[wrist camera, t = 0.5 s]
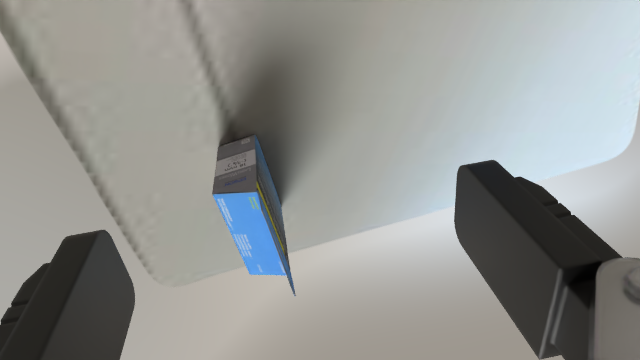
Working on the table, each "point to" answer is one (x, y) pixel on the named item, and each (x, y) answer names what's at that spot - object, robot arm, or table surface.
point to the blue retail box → (251, 207)
